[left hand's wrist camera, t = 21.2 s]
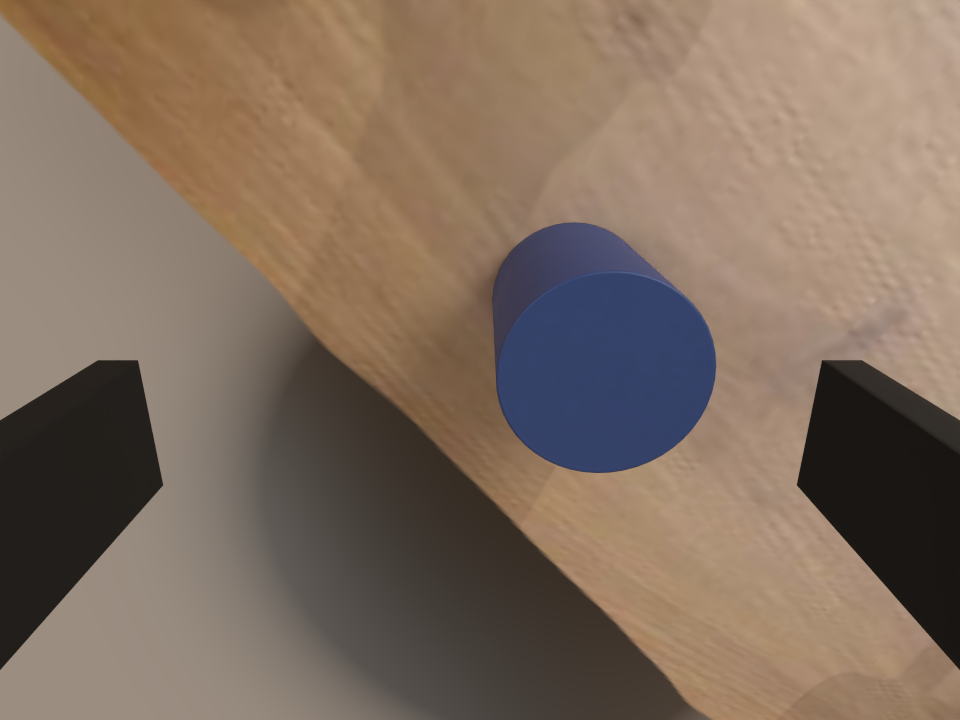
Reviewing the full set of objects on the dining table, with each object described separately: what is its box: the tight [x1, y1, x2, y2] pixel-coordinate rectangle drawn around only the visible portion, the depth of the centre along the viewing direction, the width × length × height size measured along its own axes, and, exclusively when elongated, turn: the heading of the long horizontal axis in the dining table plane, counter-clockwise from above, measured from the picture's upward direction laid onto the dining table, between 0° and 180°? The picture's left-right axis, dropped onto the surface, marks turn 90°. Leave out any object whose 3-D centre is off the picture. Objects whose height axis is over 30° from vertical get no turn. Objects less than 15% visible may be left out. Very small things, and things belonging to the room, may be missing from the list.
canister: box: [492, 223, 716, 473], centre depth 27 cm, size 8×8×10 cm
